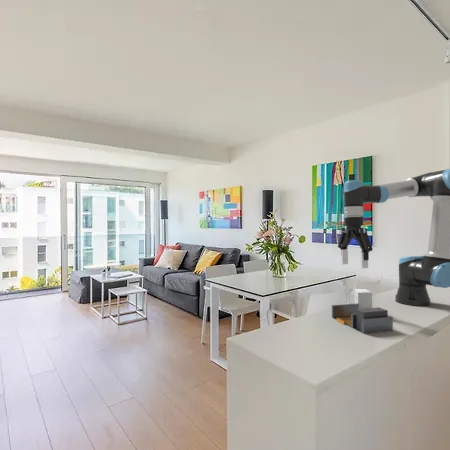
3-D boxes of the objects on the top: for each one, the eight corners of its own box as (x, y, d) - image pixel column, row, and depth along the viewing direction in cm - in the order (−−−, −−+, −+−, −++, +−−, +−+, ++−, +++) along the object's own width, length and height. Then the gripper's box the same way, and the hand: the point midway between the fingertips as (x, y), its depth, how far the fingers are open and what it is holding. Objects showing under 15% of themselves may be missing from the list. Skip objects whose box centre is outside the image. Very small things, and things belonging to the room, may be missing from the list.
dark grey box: (379, 326, 119) (379, 307, 119) (387, 329, 115) (387, 310, 115) (355, 328, 117) (355, 309, 117) (363, 332, 113) (363, 312, 113)
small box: (372, 318, 133) (372, 292, 133) (358, 317, 134) (358, 292, 134) (367, 312, 141) (367, 289, 141) (354, 312, 142) (354, 288, 142)
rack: (357, 317, 133) (357, 303, 133) (392, 333, 114) (392, 316, 114) (330, 319, 130) (330, 305, 130) (361, 336, 111) (361, 319, 111)
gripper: (329, 217, 147) (330, 263, 148) (365, 215, 123) (365, 270, 123) (344, 217, 149) (344, 262, 149) (381, 215, 125) (382, 269, 125)
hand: (354, 266), depth 136 cm, fingers open, 13 cm apart
